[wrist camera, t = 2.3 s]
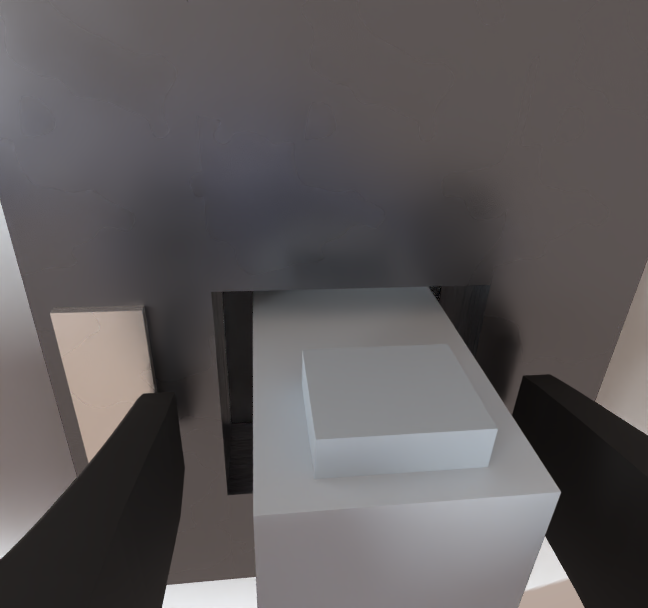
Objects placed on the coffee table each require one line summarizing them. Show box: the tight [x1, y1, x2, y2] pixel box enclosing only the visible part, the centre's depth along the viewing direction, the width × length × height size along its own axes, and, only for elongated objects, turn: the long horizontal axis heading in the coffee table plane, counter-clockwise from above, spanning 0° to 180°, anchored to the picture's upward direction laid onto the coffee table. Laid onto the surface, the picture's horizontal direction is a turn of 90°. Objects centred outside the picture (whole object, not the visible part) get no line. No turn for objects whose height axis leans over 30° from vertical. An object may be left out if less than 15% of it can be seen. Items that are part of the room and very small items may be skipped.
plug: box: [253, 287, 561, 608], centre depth 10 cm, size 4×5×7 cm
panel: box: [0, 0, 648, 585], centre depth 9 cm, size 12×24×3 cm, turn 178°
